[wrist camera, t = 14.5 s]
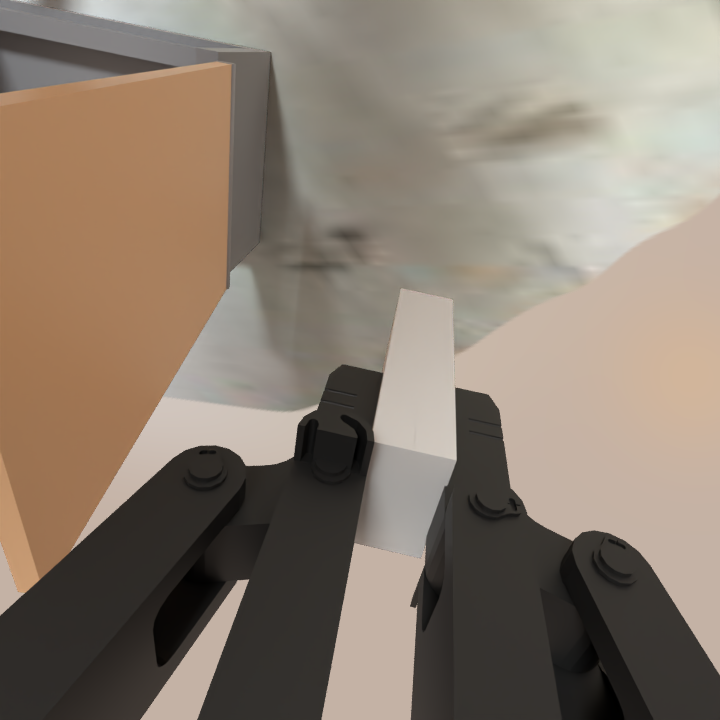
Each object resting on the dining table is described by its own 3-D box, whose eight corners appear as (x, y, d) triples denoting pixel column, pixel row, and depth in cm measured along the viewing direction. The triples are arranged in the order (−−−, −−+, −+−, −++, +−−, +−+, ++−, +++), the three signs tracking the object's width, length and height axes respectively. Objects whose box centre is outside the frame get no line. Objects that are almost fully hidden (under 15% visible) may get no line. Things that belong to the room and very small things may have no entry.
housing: (-22, -8, 28) (-158, -25, 22) (270, 52, 28) (218, 51, 21) (17, 189, 34) (-80, 221, 28) (259, 242, 33) (215, 286, 27)
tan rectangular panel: (-157, 114, 6) (-92, 125, 6) (218, 60, 21) (237, 64, 21) (13, 591, 12) (48, 595, 12) (216, 282, 27) (231, 284, 27)
